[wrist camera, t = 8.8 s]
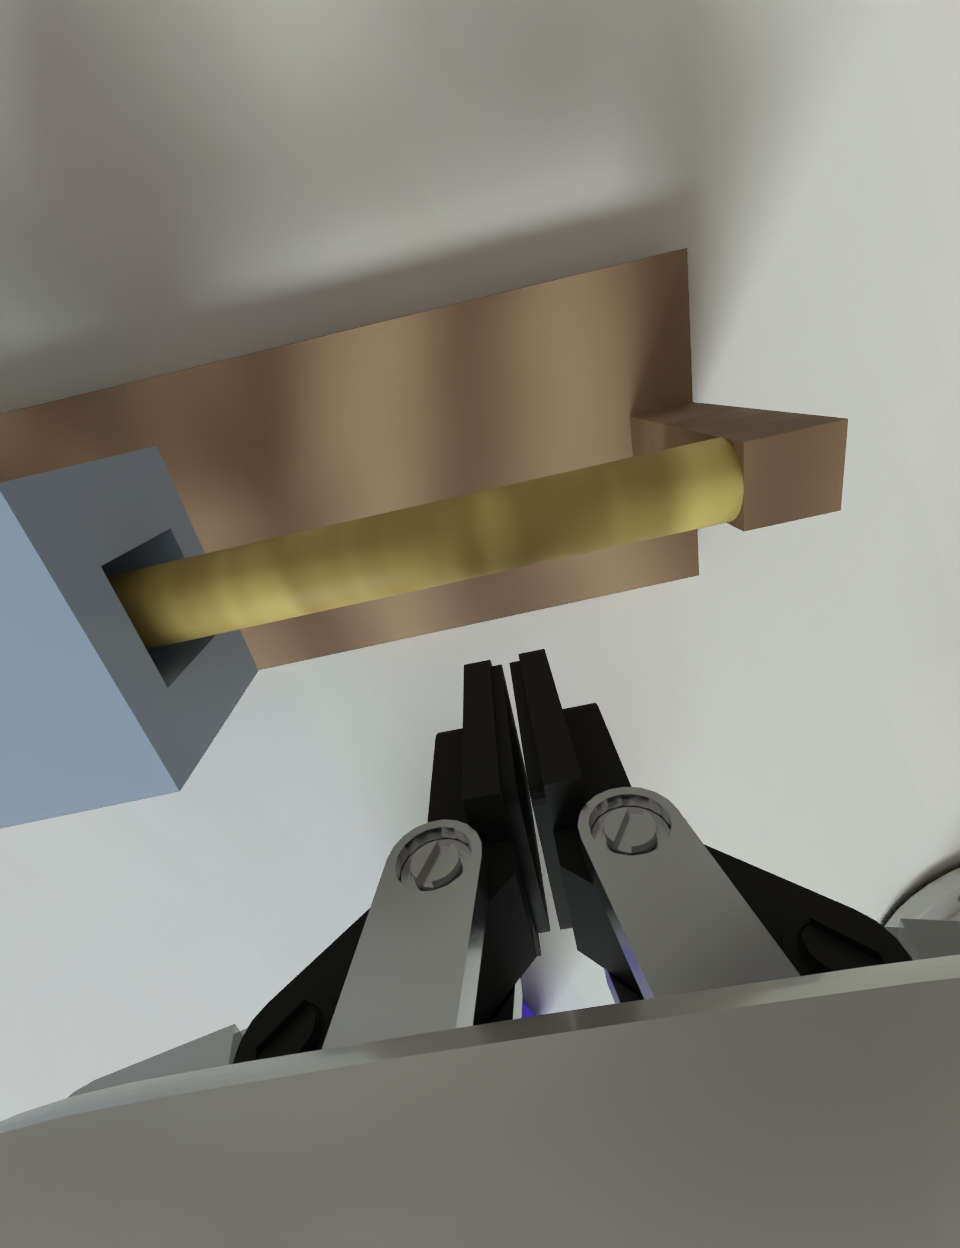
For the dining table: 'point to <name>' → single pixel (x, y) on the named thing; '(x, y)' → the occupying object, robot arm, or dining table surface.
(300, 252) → the dining table surface
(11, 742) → the sleeve
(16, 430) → the rod stand
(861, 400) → the dining table surface
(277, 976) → the dining table surface
